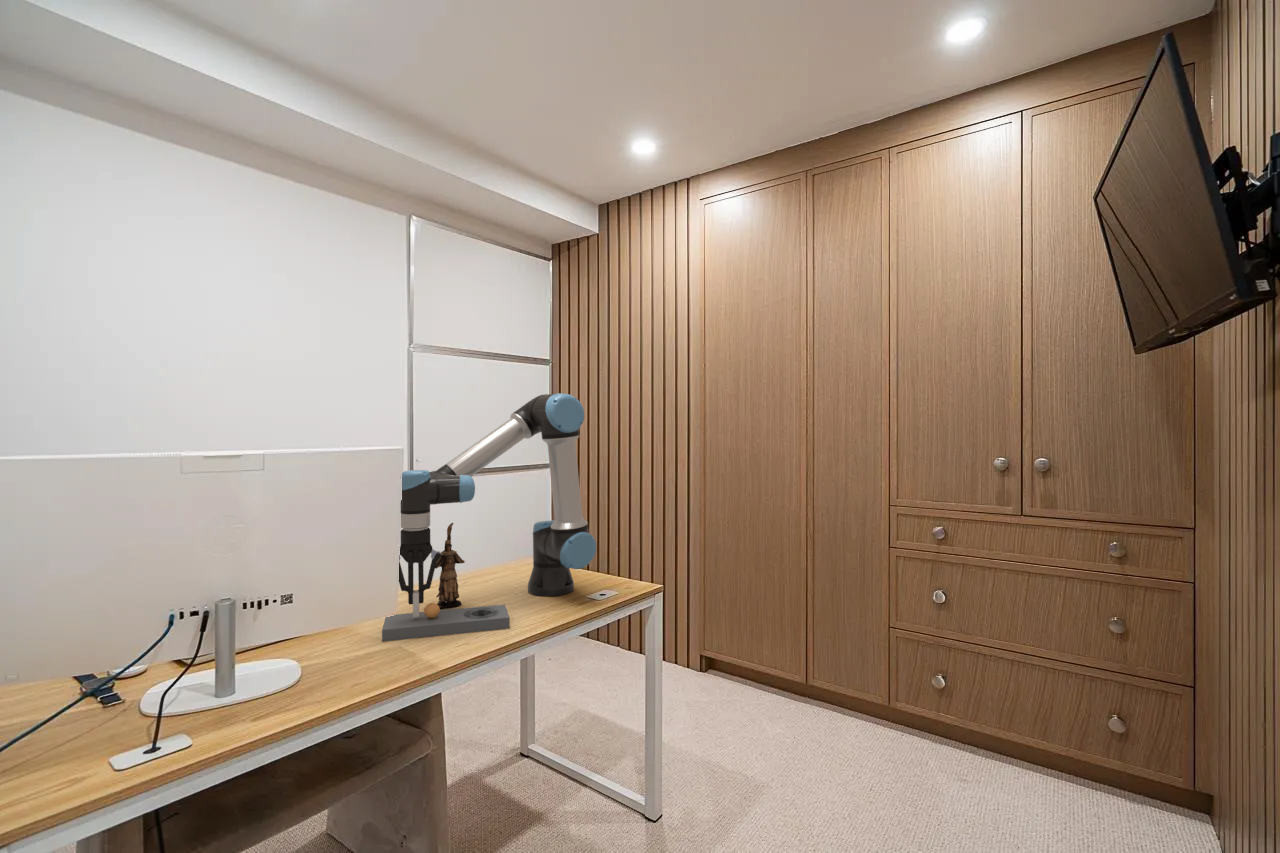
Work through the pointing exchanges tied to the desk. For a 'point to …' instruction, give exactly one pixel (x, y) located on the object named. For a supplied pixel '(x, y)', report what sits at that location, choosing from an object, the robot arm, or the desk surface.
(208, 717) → the desk surface
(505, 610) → the block
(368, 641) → the desk surface
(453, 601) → the figurine
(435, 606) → the ball
